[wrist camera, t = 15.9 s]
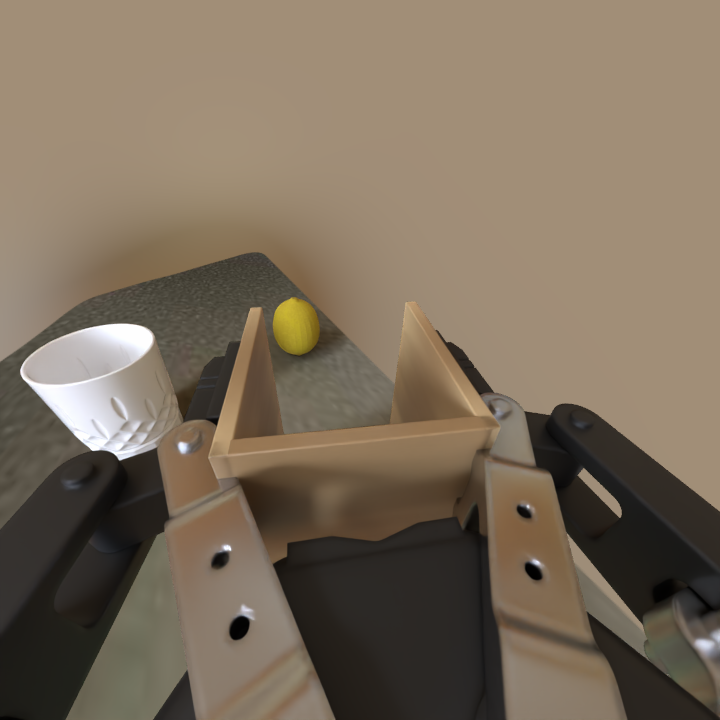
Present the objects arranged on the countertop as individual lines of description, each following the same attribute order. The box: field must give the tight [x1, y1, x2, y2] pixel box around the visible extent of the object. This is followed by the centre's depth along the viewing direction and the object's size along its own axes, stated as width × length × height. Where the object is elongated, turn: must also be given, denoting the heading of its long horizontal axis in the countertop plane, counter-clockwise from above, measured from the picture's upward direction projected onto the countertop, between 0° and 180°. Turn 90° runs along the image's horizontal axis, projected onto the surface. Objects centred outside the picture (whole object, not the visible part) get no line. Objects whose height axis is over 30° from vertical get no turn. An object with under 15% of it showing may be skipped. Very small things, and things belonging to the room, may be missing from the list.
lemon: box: [273, 297, 320, 356], centre depth 38 cm, size 6×6×8 cm
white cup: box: [21, 324, 183, 460], centre depth 26 cm, size 8×8×10 cm
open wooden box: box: [208, 302, 500, 564], centre depth 11 cm, size 6×6×9 cm
